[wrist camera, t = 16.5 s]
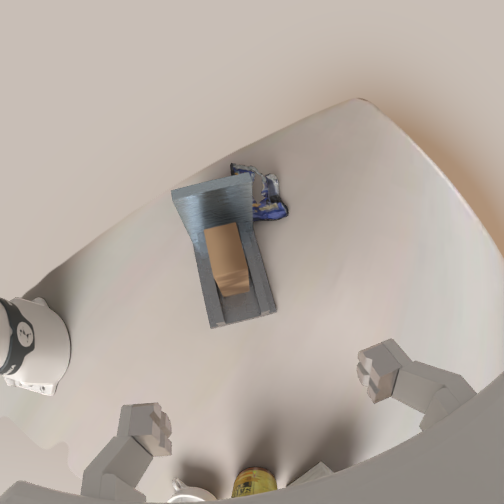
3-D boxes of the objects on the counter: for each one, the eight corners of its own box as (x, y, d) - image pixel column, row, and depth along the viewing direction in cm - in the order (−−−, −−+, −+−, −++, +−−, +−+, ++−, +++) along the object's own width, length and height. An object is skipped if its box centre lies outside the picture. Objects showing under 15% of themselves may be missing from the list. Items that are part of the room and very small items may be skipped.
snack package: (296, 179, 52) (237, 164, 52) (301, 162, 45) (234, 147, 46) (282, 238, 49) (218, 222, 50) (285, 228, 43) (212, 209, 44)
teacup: (230, 510, 30) (228, 525, 25) (189, 520, 28) (182, 535, 23) (200, 465, 33) (193, 477, 28) (159, 476, 32) (148, 488, 27)
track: (211, 328, 41) (191, 313, 28) (192, 237, 47) (171, 190, 34) (276, 312, 42) (285, 290, 29) (250, 223, 48) (249, 172, 35)
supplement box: (312, 509, 29) (329, 548, 18) (284, 486, 31) (294, 525, 20) (348, 483, 31) (377, 516, 19) (322, 459, 33) (345, 490, 21)
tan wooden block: (223, 297, 42) (213, 276, 32) (215, 260, 44) (203, 229, 34) (249, 291, 42) (247, 267, 32) (240, 254, 44) (235, 222, 34)
